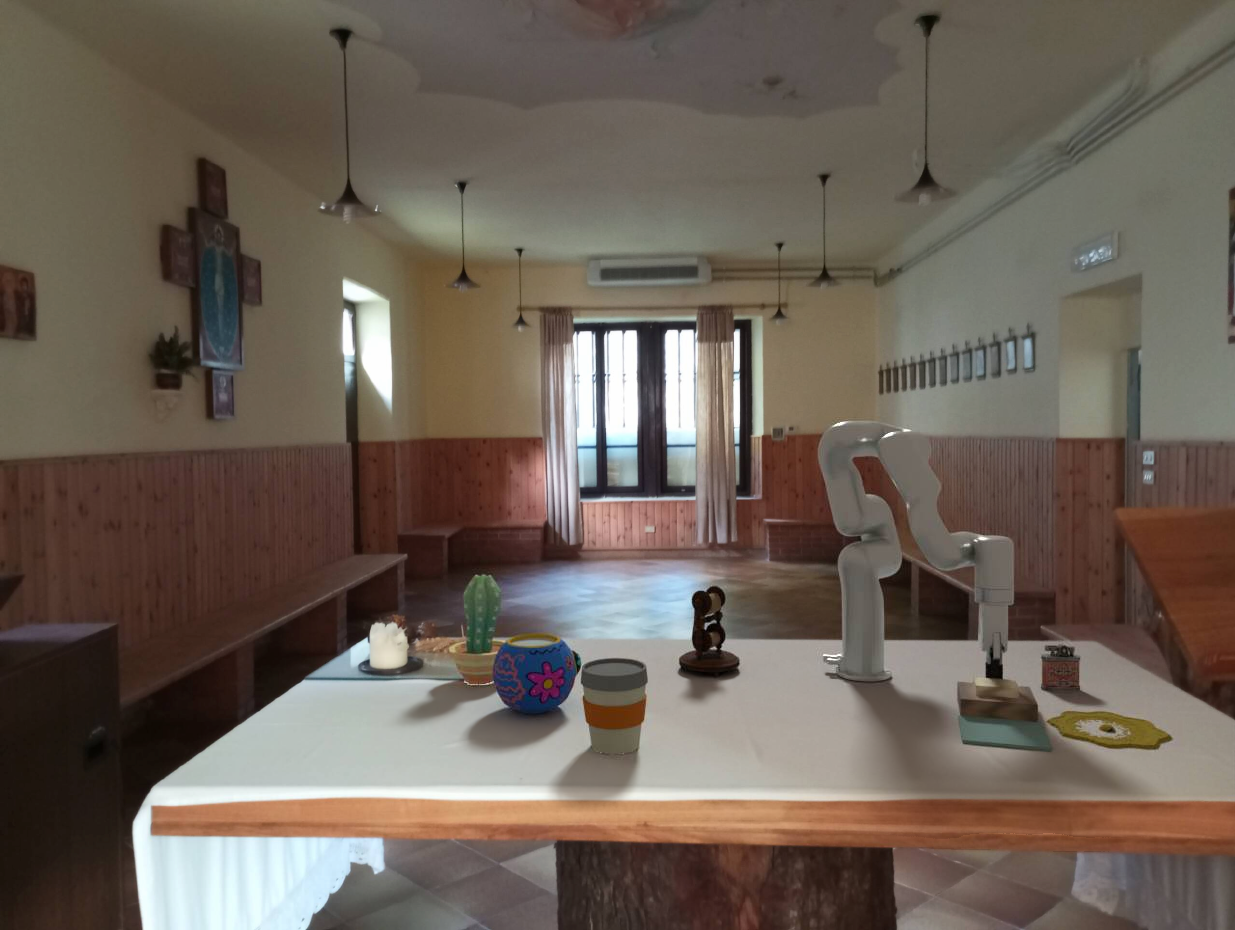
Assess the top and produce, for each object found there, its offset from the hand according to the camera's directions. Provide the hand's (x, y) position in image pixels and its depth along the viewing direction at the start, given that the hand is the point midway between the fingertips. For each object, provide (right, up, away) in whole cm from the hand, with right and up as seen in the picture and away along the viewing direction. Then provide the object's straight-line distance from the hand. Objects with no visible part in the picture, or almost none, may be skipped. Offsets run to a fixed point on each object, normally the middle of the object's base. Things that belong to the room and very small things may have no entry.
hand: (994, 681), depth 180 cm
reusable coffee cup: (-79, -7, -19) cm, 82 cm away
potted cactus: (-111, -6, +24) cm, 114 cm away
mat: (-6, -6, -17) cm, 19 cm away
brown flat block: (-2, -5, -4) cm, 7 cm away
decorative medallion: (+15, -6, -15) cm, 22 cm away
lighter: (+19, -4, +10) cm, 22 cm away
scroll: (-57, -5, +30) cm, 64 cm away
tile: (-2, -1, -4) cm, 5 cm away
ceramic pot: (-96, -7, +2) cm, 97 cm away
